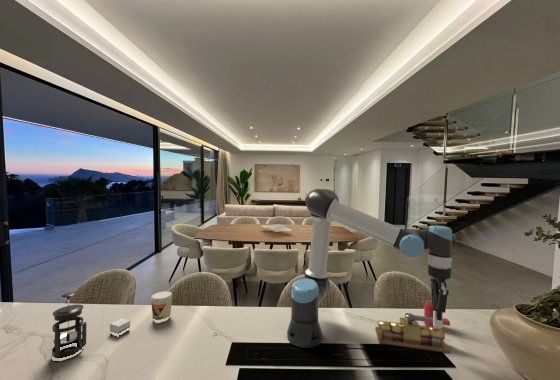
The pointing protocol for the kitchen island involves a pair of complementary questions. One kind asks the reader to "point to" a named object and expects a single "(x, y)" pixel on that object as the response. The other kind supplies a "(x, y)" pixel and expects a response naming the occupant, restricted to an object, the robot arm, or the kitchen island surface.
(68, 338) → the french press
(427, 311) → the beer can
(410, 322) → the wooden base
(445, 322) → the lever
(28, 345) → the kitchen island surface
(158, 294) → the coffee cup
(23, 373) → the kitchen island surface
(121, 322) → the small box
